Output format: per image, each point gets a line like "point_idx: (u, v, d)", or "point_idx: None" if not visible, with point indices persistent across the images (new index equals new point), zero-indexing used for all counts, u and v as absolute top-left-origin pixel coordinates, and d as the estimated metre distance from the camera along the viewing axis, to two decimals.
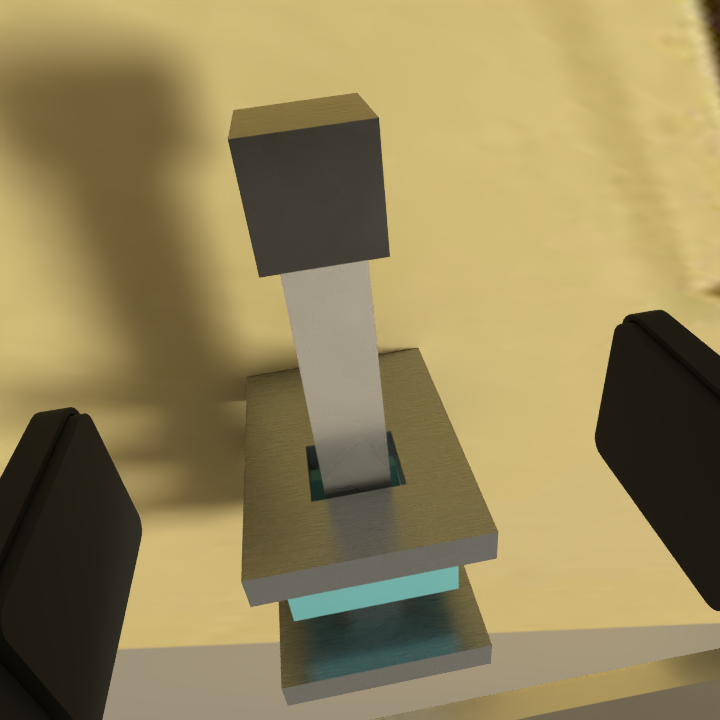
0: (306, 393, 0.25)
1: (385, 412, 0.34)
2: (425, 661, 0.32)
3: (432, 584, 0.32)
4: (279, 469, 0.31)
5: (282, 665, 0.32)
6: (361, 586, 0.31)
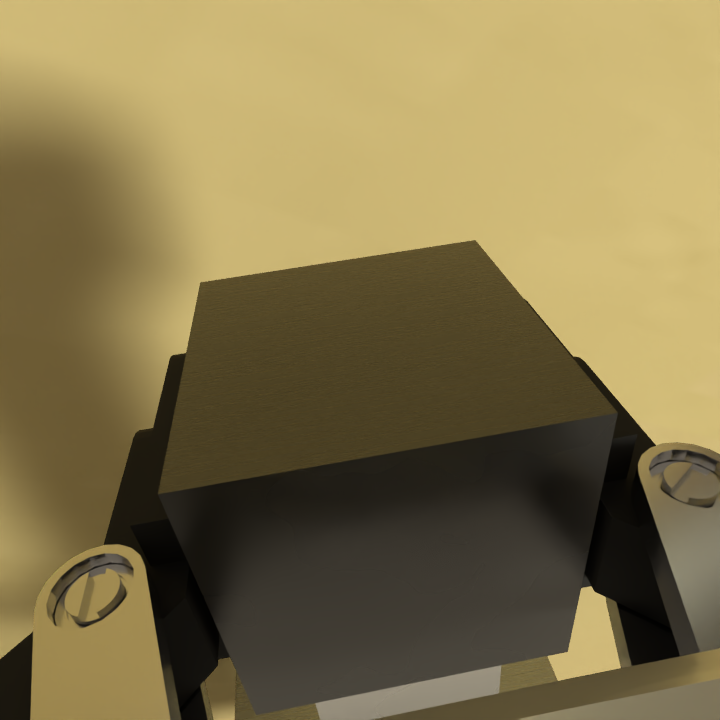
0: None
1: None
2: None
3: None
4: None
5: None
6: None
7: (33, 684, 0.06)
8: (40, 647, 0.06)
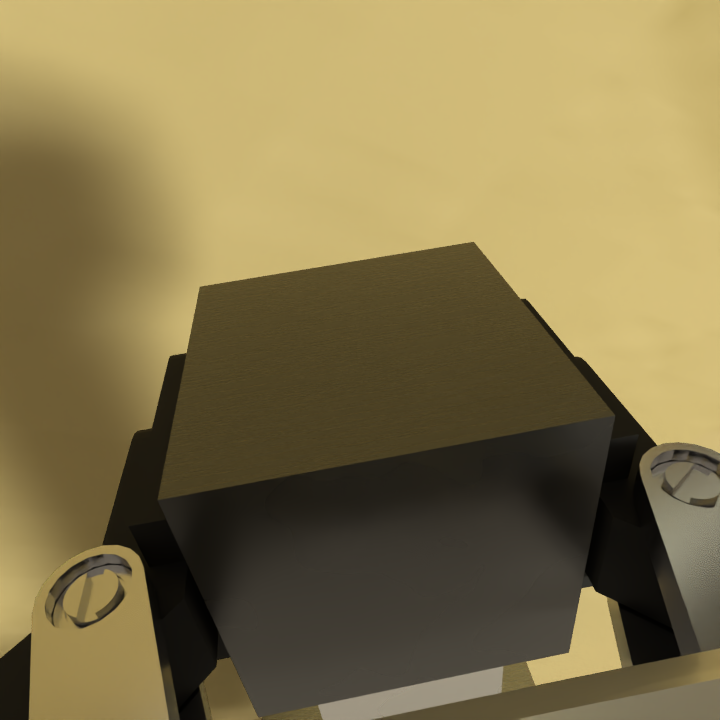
0: None
1: None
2: None
3: None
4: None
5: None
6: None
7: (30, 685, 0.06)
8: (38, 648, 0.06)
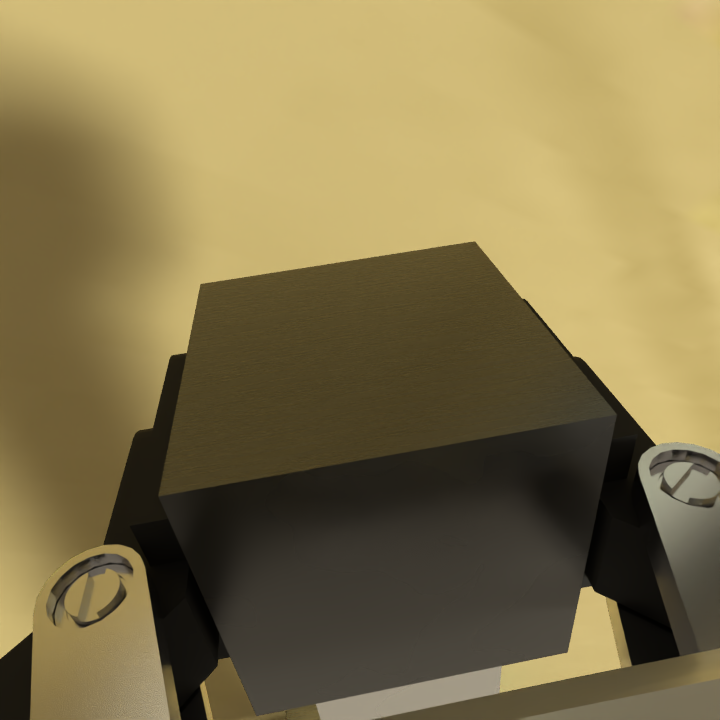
0: None
1: None
2: None
3: None
4: None
5: None
6: None
7: (32, 685, 0.06)
8: (40, 647, 0.06)
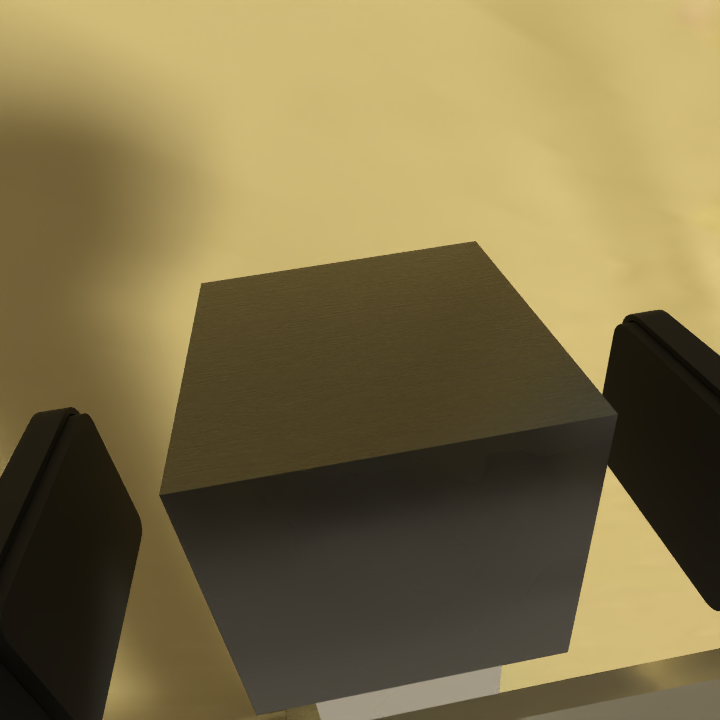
0: None
1: None
2: None
3: None
4: None
5: None
6: None
7: None
8: None
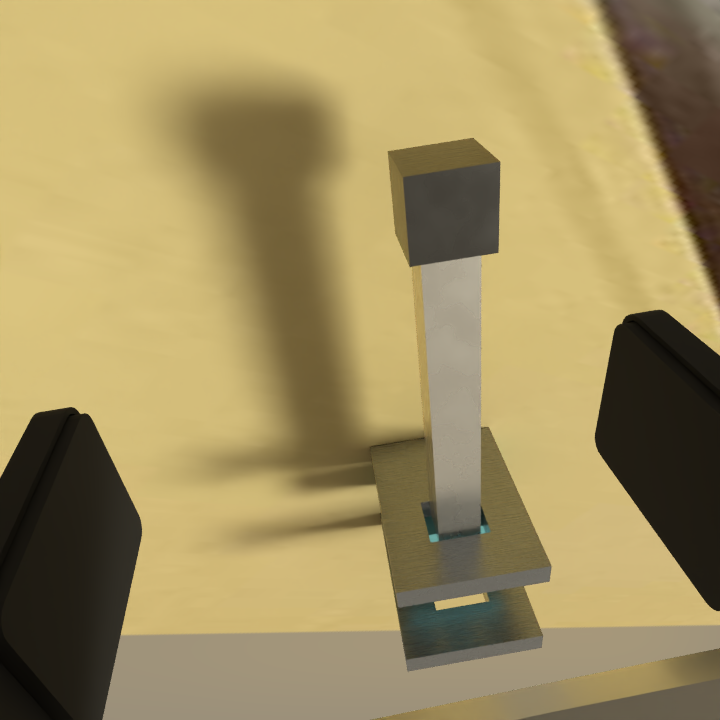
0: (427, 350, 0.35)
1: None
2: (498, 645, 0.49)
3: None
4: (405, 519, 0.48)
5: (404, 645, 0.49)
6: None
7: None
8: None
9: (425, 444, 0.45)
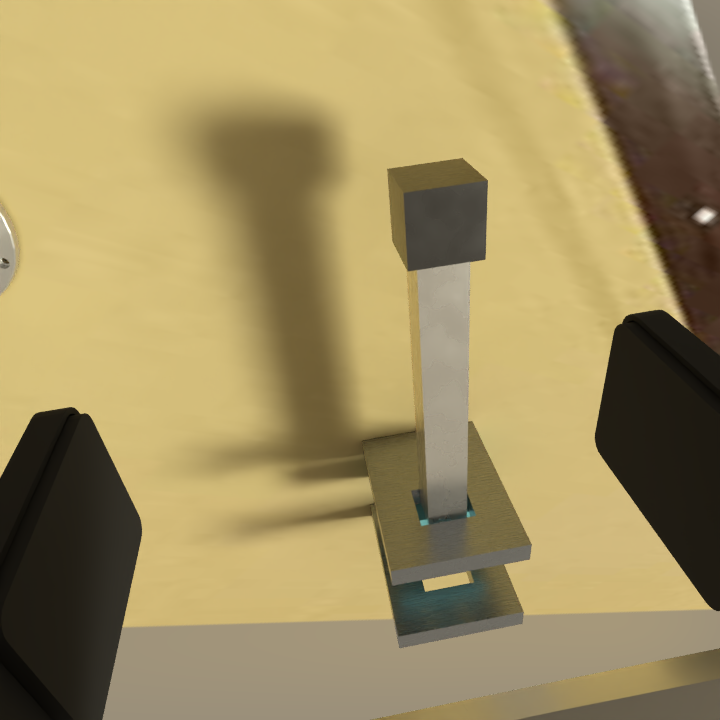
0: (421, 347, 0.39)
1: None
2: (483, 621, 0.53)
3: None
4: (397, 505, 0.52)
5: (396, 623, 0.53)
6: None
7: None
8: None
9: (416, 435, 0.49)
